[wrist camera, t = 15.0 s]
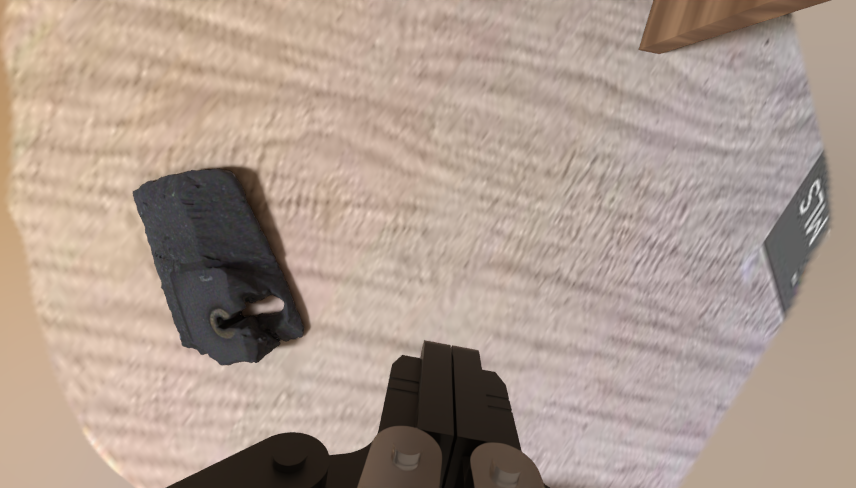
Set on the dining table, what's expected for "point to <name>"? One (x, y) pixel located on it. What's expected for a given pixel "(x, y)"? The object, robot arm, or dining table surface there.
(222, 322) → the dark slate chunk
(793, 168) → the dining table surface
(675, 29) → the wooden arch gate
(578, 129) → the dining table surface
